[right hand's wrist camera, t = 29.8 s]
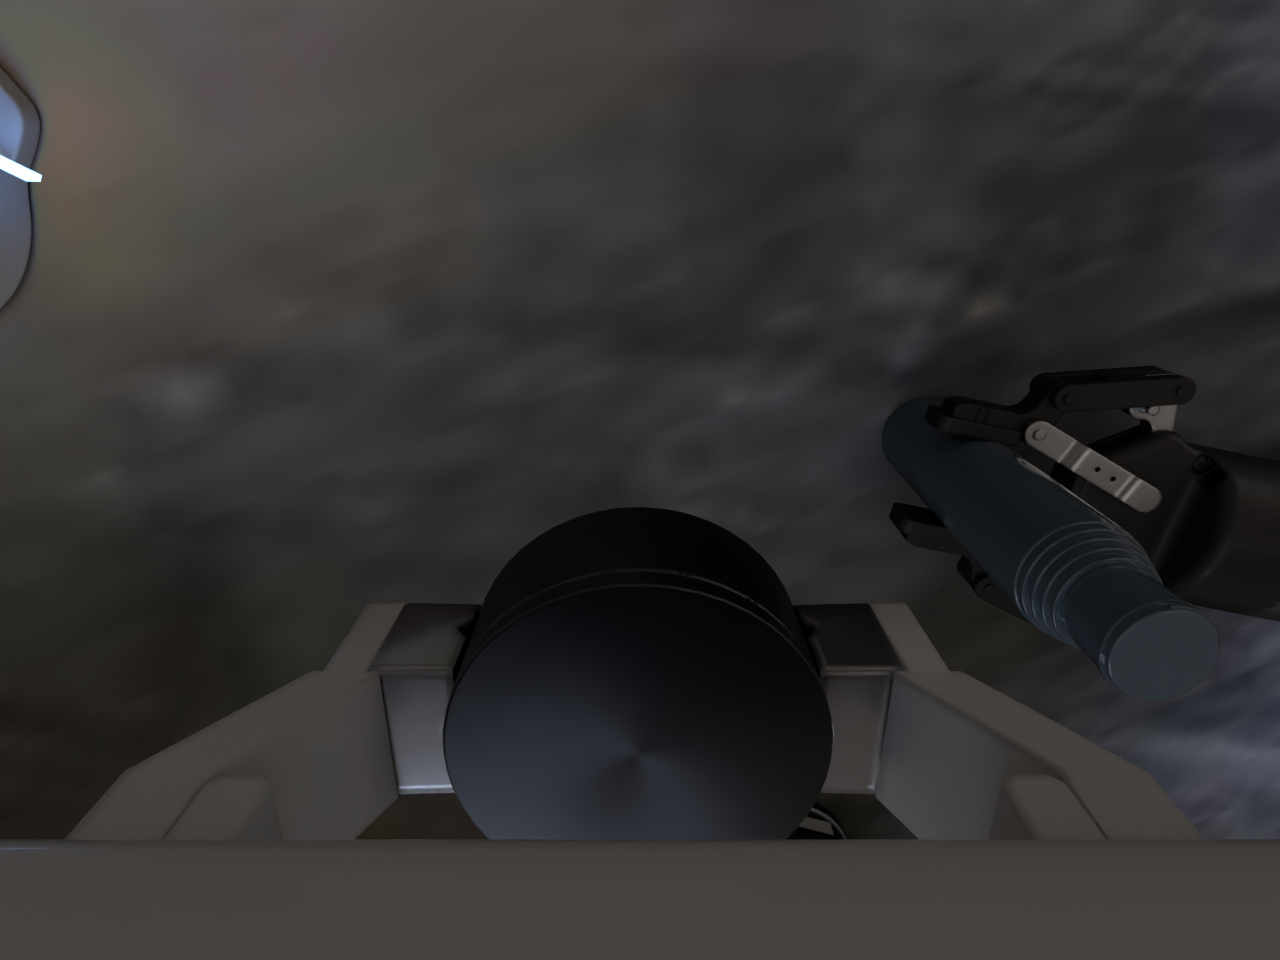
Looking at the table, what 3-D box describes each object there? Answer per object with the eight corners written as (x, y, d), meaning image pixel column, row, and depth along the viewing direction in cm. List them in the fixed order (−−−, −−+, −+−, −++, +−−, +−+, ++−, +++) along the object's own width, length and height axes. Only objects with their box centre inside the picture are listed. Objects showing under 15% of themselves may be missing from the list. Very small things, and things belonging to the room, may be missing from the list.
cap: (769, 471, 9) (802, 544, 7) (818, 745, 11) (856, 862, 9) (432, 543, 9) (384, 631, 8) (528, 799, 11) (506, 922, 9)
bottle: (953, 476, 42) (1215, 724, 23) (875, 471, 42) (1067, 715, 23) (970, 399, 41) (1268, 594, 21) (889, 394, 41) (1109, 585, 21)
